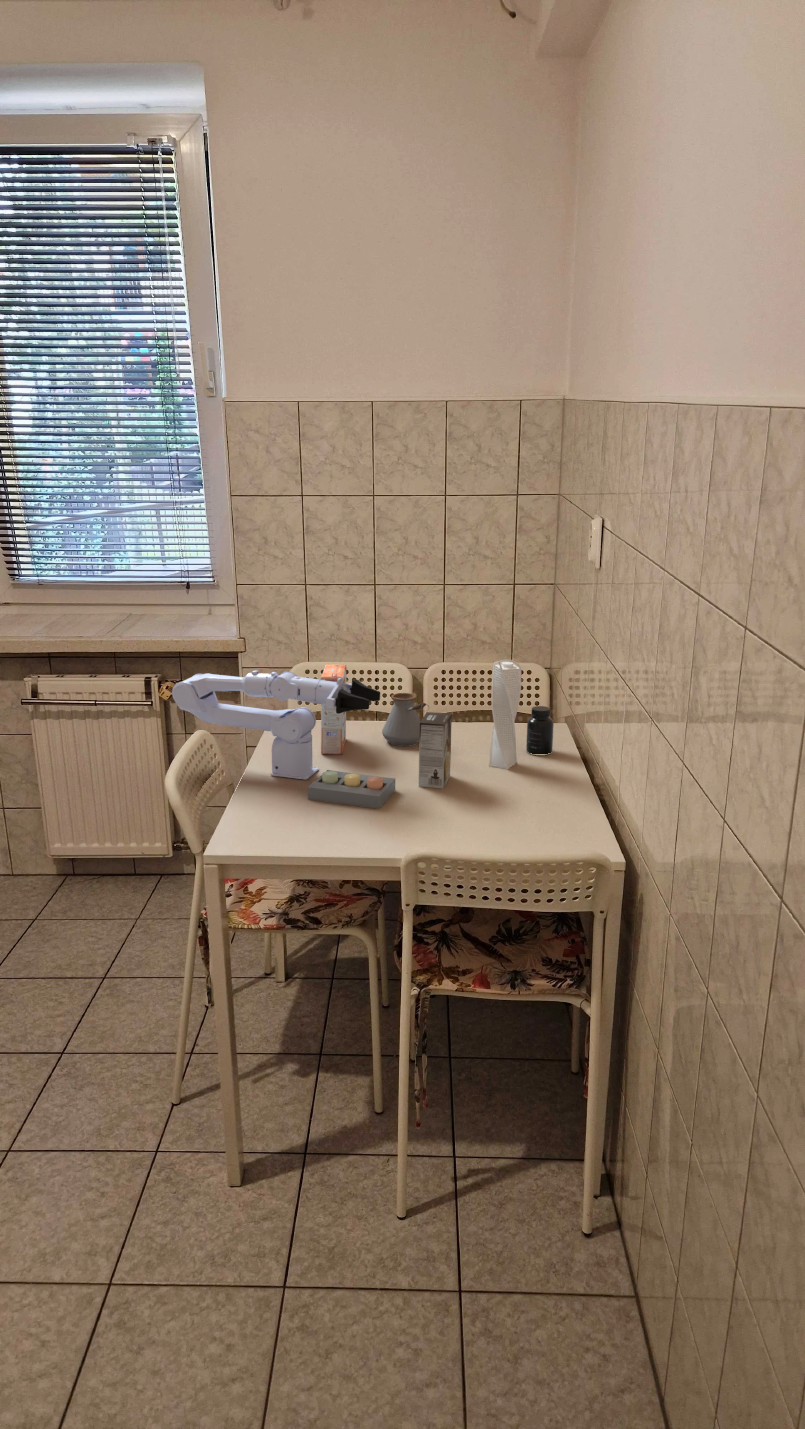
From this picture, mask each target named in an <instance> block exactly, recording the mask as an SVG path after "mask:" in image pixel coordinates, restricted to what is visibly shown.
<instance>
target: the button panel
mask: <svg viewBox="0 0 805 1429" xmlns="http://www.w3.org/2000/svg"><path fill="white" fill-rule="evenodd" d="M326 771H332V770H329V769H327V770H326ZM333 771H334V772H337V773H338V782H337V783H336V784H330V783H322V774H321V775H320V776H319V777H318V778H316V779H315V780H314V781H313V782H312V783H311V784H309V785H308V787H307V800H310V801H318V802H326V803H331V804H340V805H348V806H355V807H361V808H363V807H364V808H371V809H378V810H380V808H381V807H382V806H383V805H384V804H385V803H386V802H387V801H388V799H389V798H390V797H391V796H392V795H393V794H394V792H395V791H396V777H389V776H387V777H386V776H379V775H372V774H362V773H355V772H354V773H353V772H346V771H341V770H340V771H339V770H338V771H337V770H333ZM347 774H357V775H360V786H359V787H353V786H346V785H345V784H344V776H345V775H347ZM369 777H381V778H382V779H383V788H382V789H381V790H377V789H369V788H367V779H368V778H369Z"/></svg>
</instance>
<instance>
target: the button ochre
mask: <svg viewBox="0 0 805 1429" xmlns="http://www.w3.org/2000/svg"><path fill="white" fill-rule="evenodd" d="M357 774H358V773H356V774H347V775H345V776H344V784H345V785H346V786H353V787H359V786H360V775H357Z"/></svg>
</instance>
